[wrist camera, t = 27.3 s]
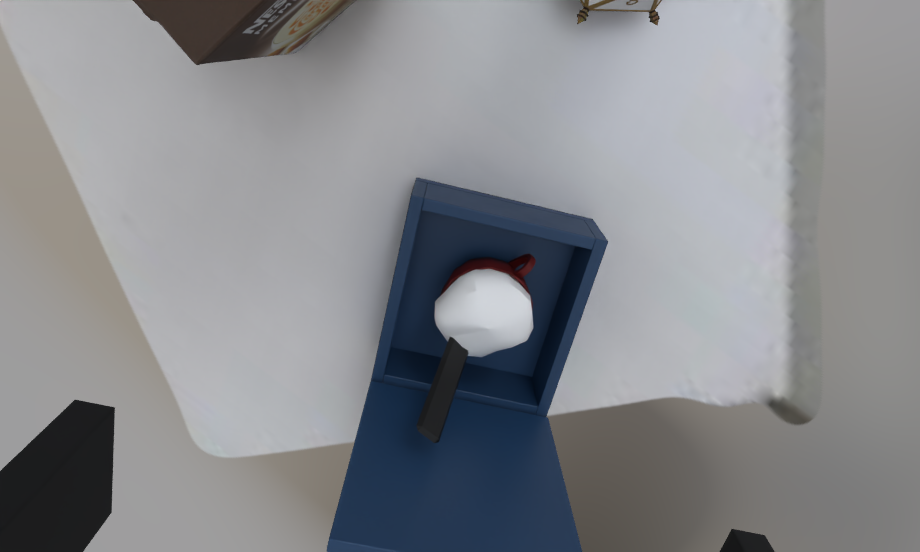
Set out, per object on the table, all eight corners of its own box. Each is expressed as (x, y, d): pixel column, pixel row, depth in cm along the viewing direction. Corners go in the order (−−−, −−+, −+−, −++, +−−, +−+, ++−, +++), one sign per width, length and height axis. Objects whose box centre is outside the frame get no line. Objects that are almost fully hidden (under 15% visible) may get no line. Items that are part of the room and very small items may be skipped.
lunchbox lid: (328, 538, 28) (306, 645, 30) (591, 587, 29) (551, 686, 31) (370, 380, 41) (353, 461, 43) (548, 417, 42) (522, 494, 44)
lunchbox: (416, 177, 41) (411, 195, 37) (593, 219, 42) (608, 241, 38) (379, 348, 46) (370, 382, 42) (538, 381, 47) (545, 418, 43)
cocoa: (522, 226, 42) (544, 297, 30) (555, 301, 44) (587, 394, 33) (399, 278, 43) (377, 365, 32) (437, 349, 45) (428, 453, 34)
